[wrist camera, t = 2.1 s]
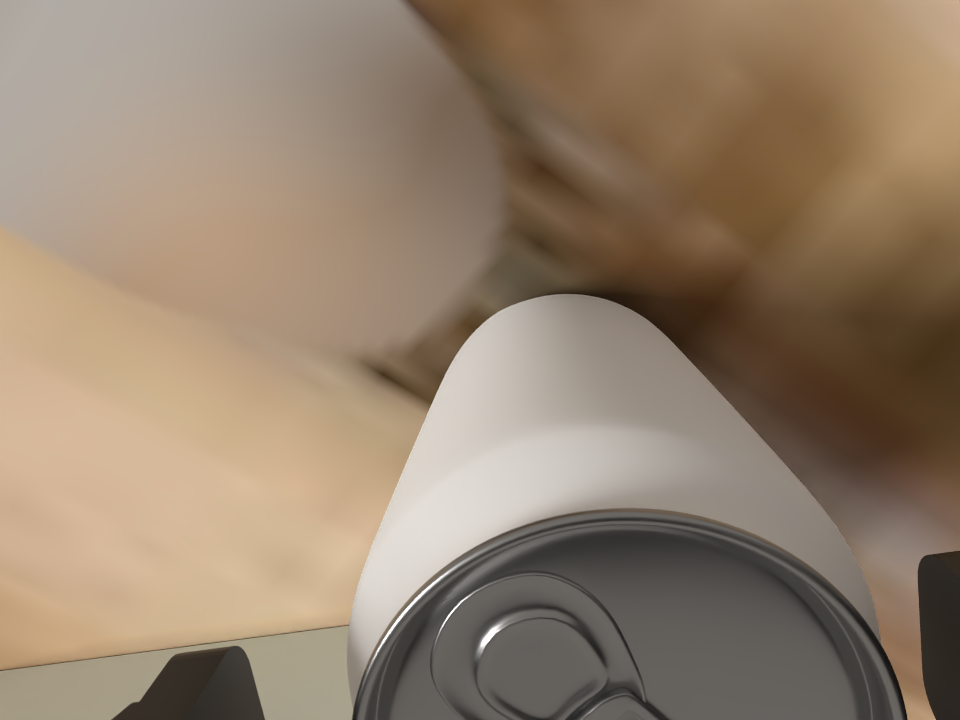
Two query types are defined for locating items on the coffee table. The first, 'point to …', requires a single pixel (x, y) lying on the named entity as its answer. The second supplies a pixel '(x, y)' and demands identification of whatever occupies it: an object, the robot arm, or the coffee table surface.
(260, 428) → the coffee table surface
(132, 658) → the pedestal block
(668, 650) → the can
